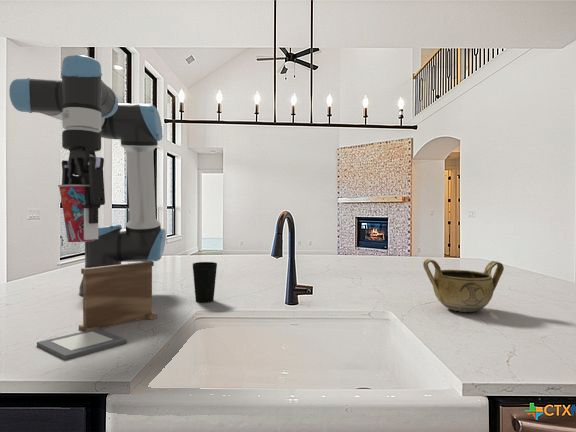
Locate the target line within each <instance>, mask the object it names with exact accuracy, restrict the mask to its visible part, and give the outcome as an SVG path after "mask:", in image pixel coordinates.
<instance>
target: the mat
mask: <svg viewBox="0 0 576 432" xmlns="http://www.w3.org/2000/svg"><path fill="white" fill-rule="evenodd" d="M127 340H128V339H126V338H124V337H121V336H118V335H117V334H116V335H115V334H113V333H110V332H108V331H104V330H102V329H95V330H88V331H80V332H75V333H72V334H71V333H70V334H67V335H62V336H57V337H52V338H48V339H45V340H40V341H37V342H36V347H38V348H40V349H42V350H44V351H46V352H49V353H51V354H53V355H55V356H57V357H58V358H61V359H63V360H69V359H73V358H76V357H77V358H78V357H80V356H84V355H88V354H91V353H92V354H93V353H95V352H98V351H102V350H107V349H109V348H110V349H111V348H113V347H116V346H120V345H124V344H127Z"/></svg>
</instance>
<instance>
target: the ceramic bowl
mask: <svg viewBox="0 0 576 432" xmlns="http://www.w3.org/2000/svg"><path fill="white" fill-rule="evenodd" d="M429 263H431V264H432V266H433V267H434V275H433V274H432V272H431V269H430V267H429ZM422 265H423V268H424V271H425V273H426V276H427V277H428V279H429V281H430V284H431V285H432V289H433V292H434V295H435V296H436V297H435V298H436V299H437V301H439V302H440V304H442V305H443V306H444V307H445V308H447V309H449V310H451V311H453V310H454V311H453V312H456V311H459V312H458V313H463V312H470V313H474V312H478V311H480V310H483V309H484V308H485V307H486V306H487V305H488V304H489V303H490V301H492V298H493V295H494V291H495V290H496V287H497V286H498V283H499V282H500V278H501V276H502V275H503V273H504V270H505V267H504V265H503V263H502V262H500V261H496V260H491V261H490V262H488V264H487V265H486V266H485V268H484V271H483V272H481V271H477V270H476V271H473V270H465V269H464V270H463V269H441V266H440V265H439V263H438V262H437V261H436V260H435V259H431V258H426V259H424V261H423V263H422ZM495 266H496V269H495V271H494V273H493V276H492V269H493V268H494V267H495Z"/></svg>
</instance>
